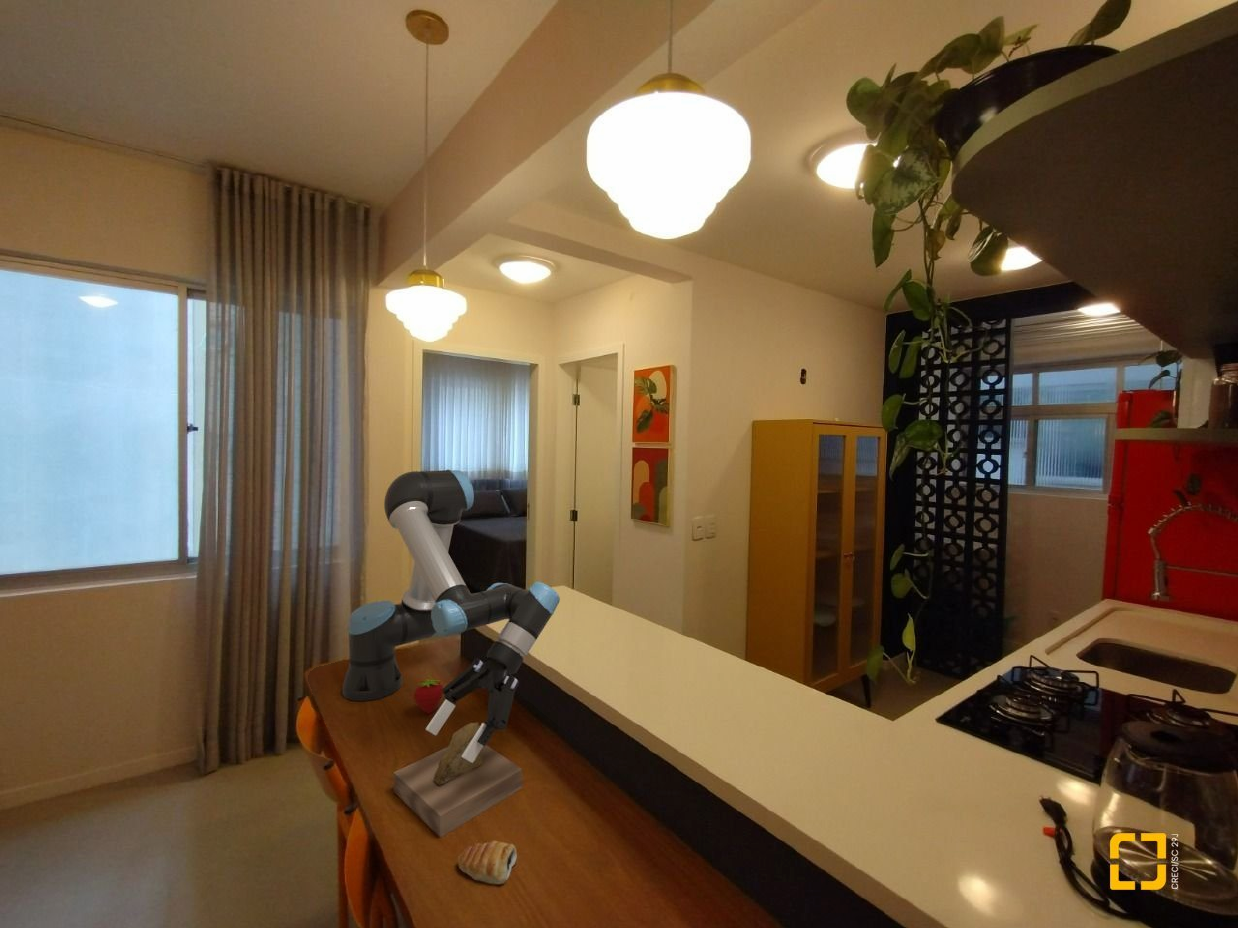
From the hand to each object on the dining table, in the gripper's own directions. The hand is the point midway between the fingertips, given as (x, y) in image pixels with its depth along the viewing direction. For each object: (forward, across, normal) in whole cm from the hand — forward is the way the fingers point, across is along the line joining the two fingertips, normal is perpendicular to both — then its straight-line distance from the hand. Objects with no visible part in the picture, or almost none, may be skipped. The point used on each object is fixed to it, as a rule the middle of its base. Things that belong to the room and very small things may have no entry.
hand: (447, 745), depth 104 cm
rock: (+3, 0, -6) cm, 7 cm away
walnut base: (+6, 0, -9) cm, 10 cm away
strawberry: (-2, +32, -17) cm, 36 cm away
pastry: (+11, -21, -4) cm, 24 cm away
